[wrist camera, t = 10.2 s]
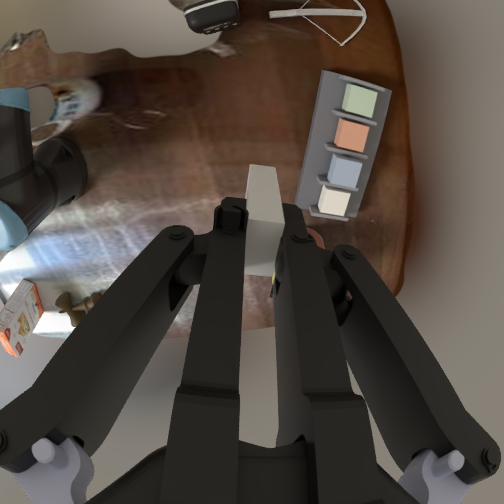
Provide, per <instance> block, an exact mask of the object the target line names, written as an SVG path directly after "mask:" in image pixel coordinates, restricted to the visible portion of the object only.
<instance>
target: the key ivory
mask: <svg viewBox="0 0 504 504" xmlns="http://www.w3.org/2000/svg"><path fill="white" fill-rule="evenodd" d="M350 195H351V194H350V192H349V191H348V190H347V189H342V188H337V187H332V186H327V185H323V188H322V191H321V195H320V199H319V203H318V208H319V210H320V212H322V213H328V214H334V215H340V216H344V214H345V210H346V207H347V204H348V201H349V198H350Z"/></svg>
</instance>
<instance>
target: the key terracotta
mask: <svg viewBox="0 0 504 504" xmlns="http://www.w3.org/2000/svg"><path fill="white" fill-rule="evenodd" d="M368 131H369V127H368V126H366V125H365V124H362V123H358V122H354V121H351V120H347V119H343V118H339V122H338V127H337V131H336V135H335V140H334V143H335V144H336V145H337V146H338V147H343V148H347V149H351V150H355V151H359V152H363V150H364V146H365V142H366V139H367V135H368Z"/></svg>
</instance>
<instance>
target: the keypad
mask: <svg viewBox="0 0 504 504" xmlns="http://www.w3.org/2000/svg"><path fill="white" fill-rule="evenodd" d="M347 84H352V85H355V86H359V87H362V88H365V89H368V90H371V91H374V92H377V98H376V102H375V106H374V111H373V115H372V118H370V117H367V116H363V115H360V114H356V113H353V112H349V111H345V110H343V109H342V104H343V100H344V95H345V90H346V85H347ZM391 93H392V91H391V90H389V89H386V88H383V87H380V86H377V85H374V84H371V83H368V82H365V81H362V80H359V79H355V78H352V77H348V76H345V75H341V74H338V73H334V72H330V71H326V70H322V72H321V77H320V83H319V88H318V93H317V98H316V103H315V108H314V113H313V118H312V123H311V128H310V133H309V138H308V142H307V147H306V152H305V156H304V161H303V166H302V170H301V175H300V179H299V184H298V188H297V193H296V197H295V201H294V204H295V205H297V206H298V207H299V208H302V209H309V210H310V213H311V215H312V216H318V217H324V218H331V219H337V220H343V221H348V219H349V218H348V216H351V217H356V215H357V212H358V210H359V207H360V204H361V201H362V198H363V194H364V191H365V188H366V185H367V182H368V179H369V175H370V172H371V169H372V166H373V162H374V159H375V155H376V152H377V148H378V145H379V141H380V137H381V134H382V130H383V126H384V122H385V118H386V114H387V110H388V106H389V102H390V97H391ZM339 118H343V119H347V120H351V121H354V122H358V123H362V124H365V125H366V126H368V127H369V131H368V135H367V139H366V142H365V146H364V150H363V152H359V151H355V150H351V149H347V148H343V147H338V146H337V145H336V144H335V143H334V140H335V135H336V131H337V127H338V122H339ZM333 153H334V154H339V155H343V156H348V157H352V158H356V159H358V160H359V161H360V162H361V163H362V167H361V171H360V174H359V177H358V181H357V184H356V187H355V188H352V187H347V186H342V185H337V184H332V183H330V182H329V180H328V178H327V176H328V172H329V169H330V165H331V161H332V157H333ZM323 185H327V186H332V187H337V188H342V189H347V190H348V191H349V192H350V194H351V195H350V198H349V201H348V204H347V207H346V210H345V214H344V216H340V215H334V214H328V213H322V212H320V210H319V208H318V203H319V199H320V195H321V191H322V188H323Z"/></svg>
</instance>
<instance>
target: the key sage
mask: <svg viewBox="0 0 504 504" xmlns="http://www.w3.org/2000/svg"><path fill="white" fill-rule="evenodd" d="M376 98H377V92H374V91H371V90H368V89H365V88H362V87H359V86H355V85H352V84H347V85H346V90H345V95H344V100H343V104H342V109H343V110H345V111H349V112H353V113H356V114H360V115H363V116H367V117H370V118H372V115H373V111H374V106H375V102H376Z"/></svg>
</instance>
